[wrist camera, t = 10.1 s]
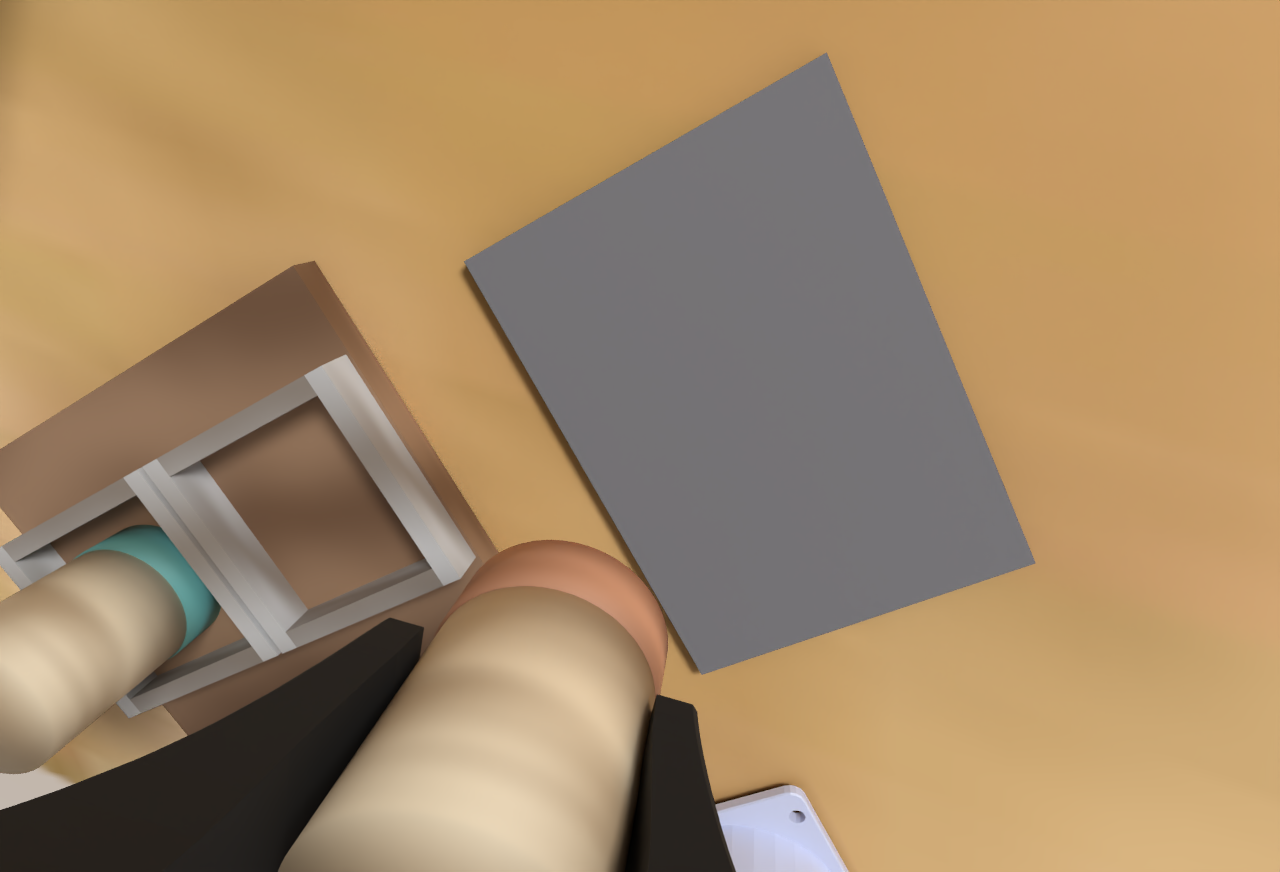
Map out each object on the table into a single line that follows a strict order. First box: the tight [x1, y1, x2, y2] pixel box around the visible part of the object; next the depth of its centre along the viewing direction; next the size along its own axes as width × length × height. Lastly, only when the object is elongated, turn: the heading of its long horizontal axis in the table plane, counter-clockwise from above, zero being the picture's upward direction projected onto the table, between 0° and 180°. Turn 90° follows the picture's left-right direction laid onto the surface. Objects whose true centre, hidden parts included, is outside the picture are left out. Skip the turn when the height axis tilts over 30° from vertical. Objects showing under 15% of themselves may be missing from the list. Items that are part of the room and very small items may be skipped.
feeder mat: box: [464, 53, 1035, 675], centre depth 19 cm, size 14×10×1 cm
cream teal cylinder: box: [0, 525, 221, 774], centre depth 21 cm, size 4×4×6 cm
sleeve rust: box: [278, 540, 668, 872], centre depth 11 cm, size 4×4×6 cm
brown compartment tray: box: [0, 261, 498, 736], centre depth 22 cm, size 12×14×2 cm
